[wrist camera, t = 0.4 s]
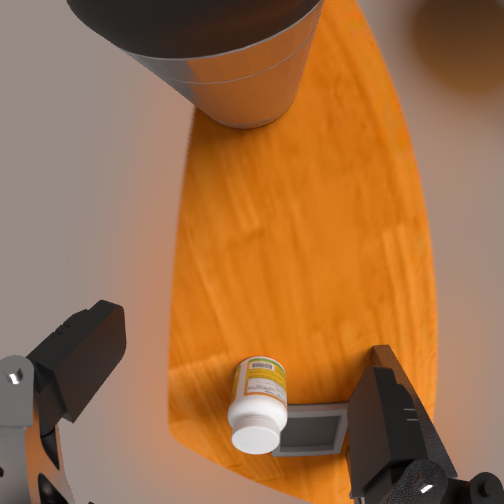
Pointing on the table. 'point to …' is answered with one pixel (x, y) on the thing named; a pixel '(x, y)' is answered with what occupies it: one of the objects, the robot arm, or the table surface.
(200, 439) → the table surface
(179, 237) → the table surface
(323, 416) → the shallow tray
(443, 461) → the door frame
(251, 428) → the supplement bottle
